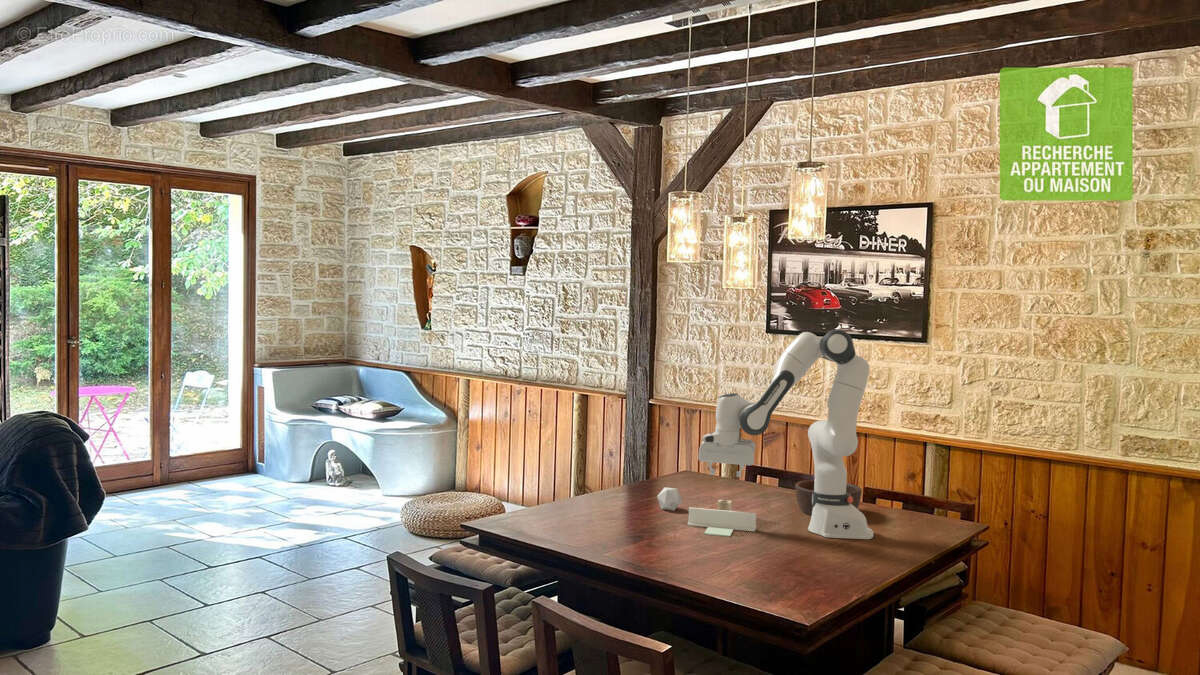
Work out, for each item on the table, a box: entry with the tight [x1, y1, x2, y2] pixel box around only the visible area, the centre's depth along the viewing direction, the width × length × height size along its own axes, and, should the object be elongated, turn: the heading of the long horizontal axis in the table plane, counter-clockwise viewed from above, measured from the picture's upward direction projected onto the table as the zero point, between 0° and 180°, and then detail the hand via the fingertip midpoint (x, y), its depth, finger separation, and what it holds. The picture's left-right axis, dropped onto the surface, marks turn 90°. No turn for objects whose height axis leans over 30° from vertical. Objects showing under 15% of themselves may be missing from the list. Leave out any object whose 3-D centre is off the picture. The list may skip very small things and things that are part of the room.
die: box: [656, 486, 682, 511], centre depth 349 cm, size 8×9×10 cm
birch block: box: [717, 499, 733, 511], centre depth 330 cm, size 4×4×8 cm
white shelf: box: [687, 506, 757, 532], centre depth 324 cm, size 24×4×6 cm, turn 75°
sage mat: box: [703, 527, 734, 538], centre depth 317 cm, size 9×9×1 cm
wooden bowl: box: [794, 479, 862, 516], centre depth 351 cm, size 25×25×10 cm
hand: (725, 475), depth 330 cm, fingers open, 8 cm apart
